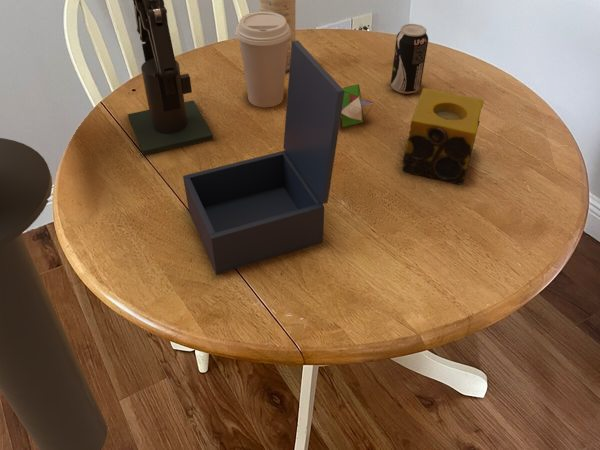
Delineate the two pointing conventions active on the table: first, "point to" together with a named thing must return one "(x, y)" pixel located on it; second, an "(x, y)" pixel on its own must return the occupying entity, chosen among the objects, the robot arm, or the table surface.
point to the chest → (253, 210)
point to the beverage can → (409, 58)
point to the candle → (442, 135)
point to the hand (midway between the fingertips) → (164, 93)
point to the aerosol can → (285, 5)
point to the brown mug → (160, 119)
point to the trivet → (160, 142)
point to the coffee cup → (264, 56)
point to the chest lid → (312, 120)
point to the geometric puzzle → (352, 106)
